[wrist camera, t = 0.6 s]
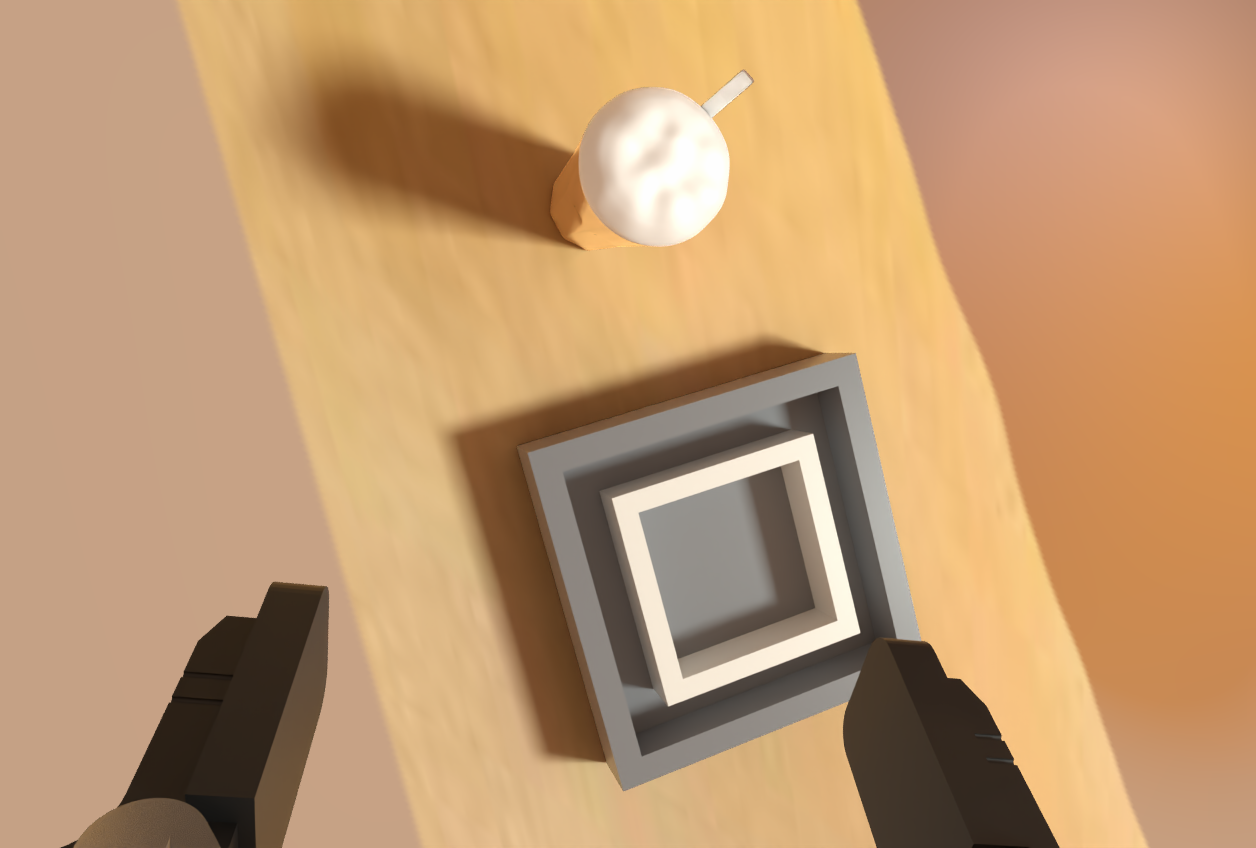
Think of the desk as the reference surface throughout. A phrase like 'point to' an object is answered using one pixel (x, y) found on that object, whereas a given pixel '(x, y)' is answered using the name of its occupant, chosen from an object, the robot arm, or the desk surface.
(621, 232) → the milkshake
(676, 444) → the dock box
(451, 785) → the desk surface
